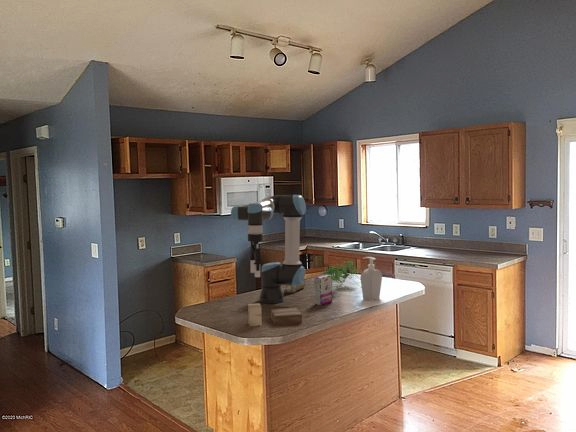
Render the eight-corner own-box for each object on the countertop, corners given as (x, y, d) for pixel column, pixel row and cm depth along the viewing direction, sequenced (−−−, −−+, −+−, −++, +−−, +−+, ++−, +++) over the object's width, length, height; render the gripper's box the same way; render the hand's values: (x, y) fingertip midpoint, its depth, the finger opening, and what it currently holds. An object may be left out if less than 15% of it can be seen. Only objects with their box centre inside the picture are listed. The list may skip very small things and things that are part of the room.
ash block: (248, 322, 266) (248, 304, 265) (259, 322, 267) (259, 303, 266) (249, 326, 260) (249, 306, 259) (261, 325, 261) (261, 306, 260)
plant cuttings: (362, 295, 354) (339, 273, 363) (375, 277, 347) (352, 255, 356) (336, 306, 325) (313, 282, 334) (351, 286, 318) (326, 262, 327)
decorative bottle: (295, 287, 350) (295, 277, 350) (305, 288, 347) (305, 278, 346) (278, 295, 327) (278, 285, 326) (289, 296, 324) (289, 286, 323)
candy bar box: (325, 300, 311) (325, 274, 310) (332, 302, 307) (332, 275, 306) (314, 304, 303) (314, 277, 301) (320, 305, 299) (320, 278, 298)
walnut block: (270, 318, 275) (270, 309, 275) (296, 316, 278) (296, 307, 278) (275, 325, 262) (275, 316, 261) (301, 323, 264) (301, 314, 264)
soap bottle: (367, 295, 323) (368, 255, 321) (382, 297, 317) (382, 256, 315) (357, 299, 314) (357, 257, 312) (372, 301, 307) (372, 259, 305)
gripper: (244, 231, 272) (244, 271, 273) (251, 235, 248) (251, 279, 249) (258, 231, 273) (258, 270, 275) (267, 235, 249) (267, 278, 250)
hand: (255, 274), depth 262 cm, fingers open, 13 cm apart
